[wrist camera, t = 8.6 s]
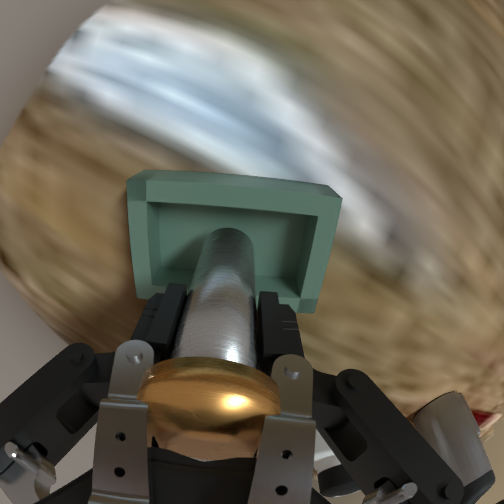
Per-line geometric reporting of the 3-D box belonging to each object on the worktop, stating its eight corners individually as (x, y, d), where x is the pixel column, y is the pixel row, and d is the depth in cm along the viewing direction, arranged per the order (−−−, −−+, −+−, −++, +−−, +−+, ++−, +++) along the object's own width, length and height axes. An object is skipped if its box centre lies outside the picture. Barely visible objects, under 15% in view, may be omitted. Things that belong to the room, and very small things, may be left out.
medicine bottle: (299, 406, 29) (311, 496, 18) (357, 390, 28) (382, 477, 17) (308, 428, 32) (319, 503, 21) (358, 414, 31) (377, 488, 20)
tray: (328, 185, 17) (342, 198, 15) (306, 288, 21) (313, 313, 18) (144, 169, 17) (126, 180, 14) (149, 274, 20) (137, 297, 18)
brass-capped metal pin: (270, 219, 15) (305, 400, 5) (261, 285, 17) (273, 462, 7) (191, 212, 15) (110, 380, 5) (191, 279, 17) (146, 450, 7)
